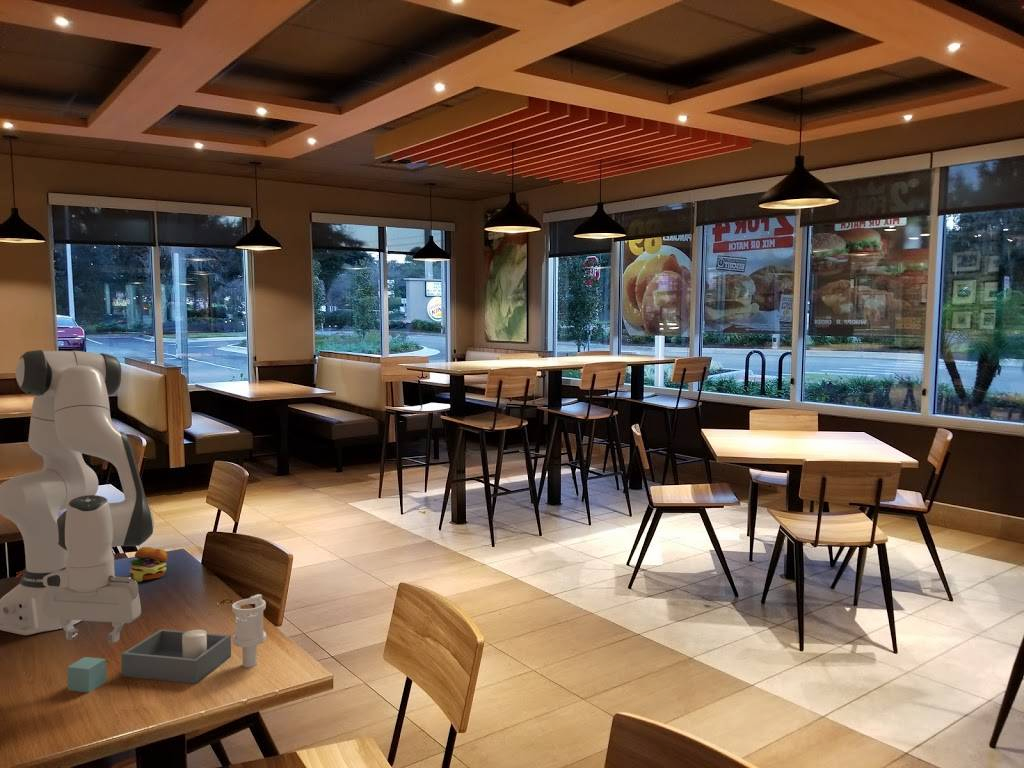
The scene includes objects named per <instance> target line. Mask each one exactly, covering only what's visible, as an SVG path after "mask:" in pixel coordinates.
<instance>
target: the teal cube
mask: <svg viewBox="0 0 1024 768" xmlns="http://www.w3.org/2000/svg"><path fill="white" fill-rule="evenodd" d="M106 660H107V659H106V658H101V657H100V658H99V657H89V656H84V657H82V658H80V659H79V660H77V661H76V662H73V663H72V664H69V666H67V667H66V668H67V669H66V671H67V691H73V692H81V693H91V692H92V691H94V690H95V689H97V688H99V687H100V686H102V685H103V684H105V683H106V682H107V661H106Z"/></svg>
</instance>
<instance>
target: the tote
mask: <svg viewBox="0 0 1024 768" xmlns="http://www.w3.org/2000/svg"><path fill="white" fill-rule="evenodd" d="M185 632H187V631H185V630H174V629H173V630H172V629H164V628H163V629H161V628H160V629H159V630H157V631H155V632H154V633H153V634H151V635H149V636H148V637H146V638H145V639H143V640H141V641H140V642H138V643H137V644H135V645H133V646H131V647H130V648H129V649H126V650H125V651H124V652H122V653H121V677H125V678H126V677H127V678H136V679H143V680H144V679H145V680H155V681H165V682H173V683H174V682H176V683H186V684H198V683H200V682H201V681H203V679H205V678H206V677H208V675H210V674H211V673H213V672H214V671H215V670H216V669H218V667H220V666H221V665H222V664H224V663H225V662H226V661H228V660H229V659H230V658H231V657H232V636H231V634H230V635H229V634H220V633H219V634H218V633H217V634H216V633H208V632H207V651H205V652H204V653H202V654H201V655H200V656H198V657H197V658H196V659H190V658H183V657H182V634H184V633H185Z"/></svg>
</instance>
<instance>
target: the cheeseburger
mask: <svg viewBox="0 0 1024 768" xmlns="http://www.w3.org/2000/svg"><path fill="white" fill-rule="evenodd" d="M134 558H136V559H134V560H133V559H132V560H131V561H129V563H130V564H131V565H130V567H131V568H130V569H129V574H130V577H131V578H132V579H133V580H134V581H135V582H137V583H141V582H142V581H148V580H154V579H159V578H162V577H163V576H165V573H166V570H167V567H166V566H167V562H168V561H170V559H168V553H167V551H166V550H164V549H161V548H154V547H150V546H142V547H140V548H138V550H137V551H136V552H135V554H134Z"/></svg>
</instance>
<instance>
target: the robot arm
mask: <svg viewBox="0 0 1024 768" xmlns="http://www.w3.org/2000/svg"><path fill="white" fill-rule="evenodd" d="M15 379H16V382H17V385H18V388H19V389H20V390H21V391H23V392H24V393H25V394H28V395H32V396H34V397H33V401H32V405H31V411H30V412H31V415H30V421H29V422H30V423H29V431H28V432H29V433H28V440H27V441H28V445H29V448H30V449H31V450H32V451H33V452H34V453H36V454H38V455H40V456H42V459H43V468H42V469H41V470H38V471H32V472H28V473H23V474H19V475H17V476H14V477H12V478H10V479H7V480H6V481H3V482H1V483H0V514H1V516H3V517H4V518H6V519H7V520H9V521H11V522H12V523H13V524H15V526H16V527H17V528H18V530H19V532H20V534H21V536H22V539H23V540H22V541H23V544H24V545H23V546H24V554H25V568H24V569H23V570H21V571H18V572H16V578H20V577H21V578H20V582H19V584H17V585H16V586H15V587H14V588H12V589H11V590H10V591H8V592H7V593H6V594H5V595H3V596H2V597H1V598H0V631H3V632H8V633H13V634H17V635H22V636H29V635H34V634H37V633H38V634H39V633H44V632H50V631H55V630H59V629H63V630H64V632H65V638H66V640H76V639H77V638H78V636H79V629H78V628H75V626H74V625H76V624H78V623H80V622H82V621H86V622H104V623H111V627H112V628H113V629H112V631H111V632H110V633H107V641H108V643H117V642H118V641H119V640H120V636H121V635H120V634H121V633H120V632H121V631H122V629H123V627H124V625H125V624H131V623H132V622H134V621H135V620H137V619H138V618H139V617H141V616H140V615H142V614H141V613H142V605H141V598H140V593H139V584H138V582H136V581H135V580H134V579H133V578H131V576H117V575H115V574H116V572H115V555H114V553H113V550H112V549H113V548H115V547H116V548H117V547H136V546H137V547H139V546H141V545H143V544H144V543H145V542H147V540H149V538H150V537H151V536H152V535H153V533H154V528H155V519H154V514H153V512H152V509H151V506H150V505H149V503H148V499H147V496H146V493H145V490H144V486H143V482H142V479H141V476H140V471H139V468H138V464H137V460H136V457H135V453H134V450H133V448H132V444H131V441H130V439H129V437H128V435H127V434H126V432H123V431H120V430H119V429H118V428H117V427H116V426H115V424H114V422H113V420H112V418H111V408H110V399H109V396H111V395H113V394H115V393H116V392H117V391H118V390H119V388H120V386H121V383H122V379H123V371H122V365H121V363H120V361H119V360H118V358H117V357H116V356H114V355H111V354H108V353H107V354H106V353H104V352H102V353H95V352H91V351H89V352H88V351H83V350H81V351H80V350H71V351H70V350H45V351H43V350H41V349H38V350H28V351H26V352H24V353H23V354H22V355H21V356H20V357H19V360H18V362H17V364H16V367H15ZM83 454H84V455H87V456H92V457H96V458H100V459H102V460H105V461H108V463H111V464H112V465H113V466H114V467H115V468H116V471H117V473H118V476H119V480H120V484H121V488H122V492H123V495H124V500H121V501H118V502H109V500H108V499H107V498H106V497H105V496H101V495H97V493H98V490H99V479H98V476H97V473H96V471H94V470H93V469H92V468H91V467H90V466H89V465H88V464H87V463H86V462H85V460H84V458H83ZM63 510H65V511H63ZM60 511H63V513H61V514H60V516H59V512H60Z"/></svg>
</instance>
